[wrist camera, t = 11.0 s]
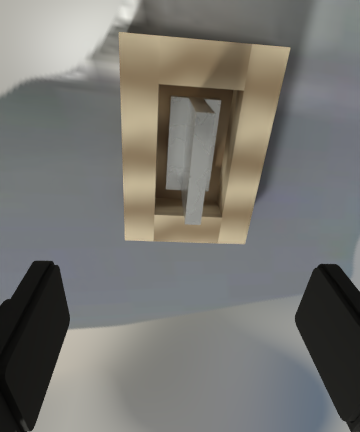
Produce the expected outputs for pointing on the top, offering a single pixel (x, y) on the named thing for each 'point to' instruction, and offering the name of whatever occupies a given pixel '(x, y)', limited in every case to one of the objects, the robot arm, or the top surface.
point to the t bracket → (191, 151)
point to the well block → (225, 138)
